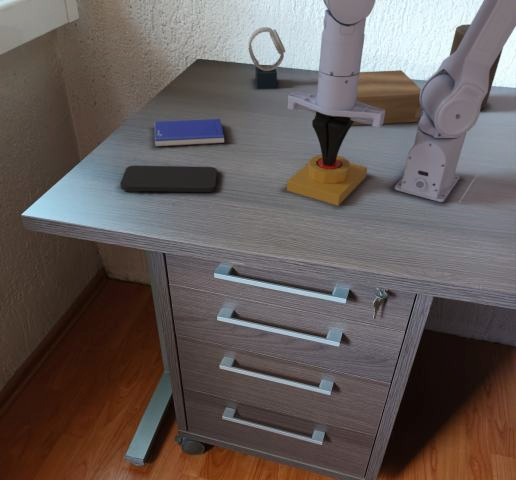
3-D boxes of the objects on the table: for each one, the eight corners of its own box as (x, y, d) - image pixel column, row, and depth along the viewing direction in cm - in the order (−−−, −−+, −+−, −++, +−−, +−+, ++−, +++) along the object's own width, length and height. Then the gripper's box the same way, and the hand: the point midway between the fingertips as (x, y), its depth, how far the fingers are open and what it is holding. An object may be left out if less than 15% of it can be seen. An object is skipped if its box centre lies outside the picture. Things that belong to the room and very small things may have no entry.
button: (333, 180, 82) (335, 170, 81) (313, 174, 84) (314, 164, 82) (343, 171, 85) (344, 161, 83) (323, 166, 86) (324, 155, 85)
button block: (338, 205, 80) (340, 184, 78) (286, 190, 84) (287, 169, 81) (366, 177, 87) (369, 156, 85) (317, 164, 90) (319, 144, 88)
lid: (425, 97, 100) (426, 93, 99) (356, 101, 98) (356, 97, 98) (400, 74, 109) (401, 70, 109) (337, 77, 108) (337, 73, 107)
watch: (285, 88, 117) (287, 32, 109) (249, 88, 116) (249, 32, 108) (282, 79, 121) (284, 24, 113) (247, 80, 120) (247, 25, 112)
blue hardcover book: (154, 138, 93) (223, 135, 95) (154, 120, 99) (219, 117, 100) (155, 147, 94) (224, 143, 96) (155, 128, 100) (220, 125, 102)
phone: (214, 188, 82) (118, 186, 82) (214, 193, 83) (119, 191, 82) (217, 166, 87) (127, 165, 87) (217, 171, 88) (128, 169, 88)
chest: (417, 121, 104) (423, 96, 100) (351, 125, 102) (354, 99, 99) (396, 98, 113) (400, 74, 109) (334, 101, 111) (337, 77, 108)
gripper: (398, 70, 73) (381, 163, 83) (304, 54, 78) (298, 143, 88) (382, 85, 69) (366, 181, 79) (283, 67, 74) (279, 160, 83)
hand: (329, 163), depth 83 cm, fingers closed, pressing on button
